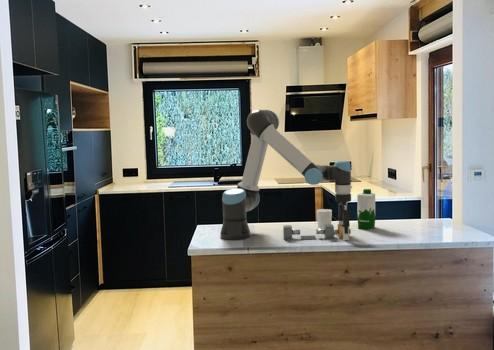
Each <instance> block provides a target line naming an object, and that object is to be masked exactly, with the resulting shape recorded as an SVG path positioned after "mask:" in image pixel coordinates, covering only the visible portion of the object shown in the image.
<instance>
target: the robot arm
mask: <svg viewBox="0 0 494 350" xmlns="http://www.w3.org/2000/svg"><path fill="white" fill-rule="evenodd" d="M246 125H247V128H248V130H250V132H249V133H250V136H251V143H250V147H249V149H248V154H247V159H246V162H245V165H244V166H245V167H244V171H243V175H242V179H241V181H240V182H238V183H237V187H236V188H232V189H227V190H225V191H224V192H223V193H222V198H221V201H222V216H223V217H222V220H223V223H222V225H221V229H220V233H219V234H220V238H221V239H223V240H229V241H233V240H234V241H237V240H246V239H249V238H251V229H250V227H249V225H248V221H247V212H251V211H252V210H254V209H255V208H257V206H258V205H259V203H260V199H261V198H260V194H259V192H260V187H259V181H260V177H261V173H262V170H263V167H264V166H263V165H264V161H265V157H266V154H267V150H268V146H270V147H271V148H272V149H273V150H274V151H275V152H277V153H278V154H279V155H280V156H281V157H282V158H283V159H284V160H285V161H286V162H287V163H288V164H289V165H291V166H292V167H293V168H294V169H295V170H297V172H299V173H300V174H301V176H303V177H304V179H305V182H306V183H308V184H309V185H313V186H314V185H319V184H321V183H322V182H334V193H335V195H334V198H335V202H337V203H338V209H337V210H338V211H337V212H338V213H337V219H338V224H343V225H342V227H343V238H342V241H350V238H349V236H350V234H349V229H350V225H351V224H350V217H349V213H350V212H349V205H348V203H350V202H352V194H351V193H352V188H353V185H352V178H351V177H352V169H351V167H352V166H351V163H350V161H348V160H338V161H335V162H334V164H333V165H320V164H318V165H316V164H315V163H314V162H313V161H312V160H311V159H309V157H307V156H306V155H305V154H304V153H303V152H302V151H300V150H299V149H298V147H296V146H295V145H294V144H293V143H291V142H290V141H289V139H287V138H286V136H284V135H283V134H281V133H280V131H278V130H277V129H278V128H279V125H280V119H279V117H278V115H277V113H275V112H274V111H273V110H270V109H255V110H253V111H251V112H250V113H249V114H248V116H247V119H246Z"/></svg>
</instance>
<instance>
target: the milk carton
mask: <svg viewBox="0 0 494 350" xmlns="http://www.w3.org/2000/svg"><path fill="white" fill-rule="evenodd" d="M356 198H357V206H356V207H357V229H359V230H370V229H372V230H373V229H374V228H375V226H376V193H373V192H372V189H371V188H365V189H363V190H362V192H360V193H358V194H357V195H356Z"/></svg>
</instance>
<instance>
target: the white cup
mask: <svg viewBox="0 0 494 350" xmlns="http://www.w3.org/2000/svg"><path fill="white" fill-rule="evenodd" d="M332 212H333V210H332V209H330V208H329V209H328V208H326V209H325V208H321V209H320V208H319V209H316V223H317V229H324V224H332V218H333V216H332V215H333V213H332Z"/></svg>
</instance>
